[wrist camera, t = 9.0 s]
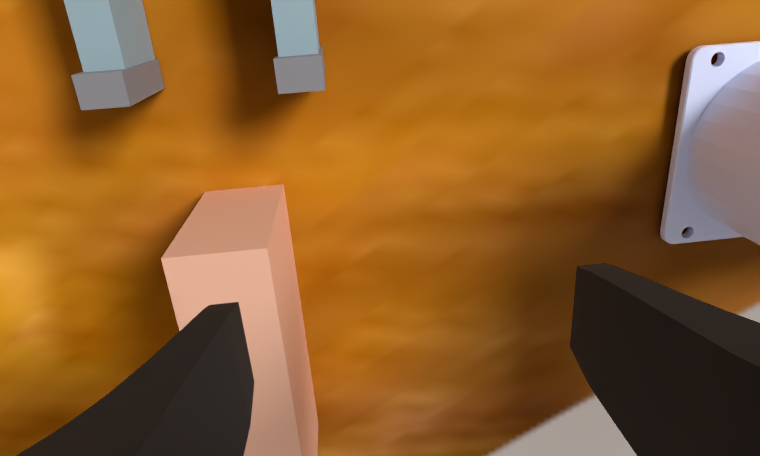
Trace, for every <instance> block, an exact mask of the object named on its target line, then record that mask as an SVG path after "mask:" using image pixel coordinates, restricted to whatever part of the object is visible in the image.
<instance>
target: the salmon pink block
mask: <svg viewBox="0 0 760 456" xmlns="http://www.w3.org/2000/svg"><path fill="white" fill-rule="evenodd" d="M161 261H162V265H163V269H164V273H165V277H166V280H167V284H168V288H169V292H170V296H171V300H172V304H173V308H174V312H175V316H176V320H177V324H178V327H179V331H181V330H182V329H183V328H184V327H185V326H186V325H187V324H188V323H189V322H190V321H191V320H192V319H193V318H194V317H196V316H197V315H198V314H199V313H200V312H201V311H202V310H203V309H204V308H206V307H207V306H208V305H213V304H223V303H232V302H239V307H240V312H241V317H242V322H243V327H244V332H245V337H246V342H247V347H248V352H249V357H250V362H251V367H252V372H253V377H254V393H253V404H252V414H251V424H250V429H249V434H248V438H247V443H246V447H245V452H244V456H317V454H318V418H317V411H316V404H315V397H314V390H313V383H312V376H311V370H310V363H309V356H308V349H307V342H306V335H305V328H304V322H303V315H302V308H301V301H300V294H299V287H298V281H297V274H296V267H295V260H294V253H293V246H292V239H291V233H290V226H289V219H288V212H287V205H286V198H285V191H284V185H272V186H261V187H251V188H240V189H229V190H218V191H207V192H205V193H204V194H203V196H202V197H201V199H200V200H199V202H198V203H197V205H196V206H195V208H194V209H193V211H192V212H191V214H190V215H189V217H188V218H187V220H186V221H185V223H184V224H183V226H182V227H181V229H180V230H179V232H178V234H177V235H176V237H175V238H174V240H173V241H172V243H171V244H170V246H169V247H168V249H167V250H166V252H165V253H164V255H163V256H162V258H161Z"/></svg>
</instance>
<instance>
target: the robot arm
mask: <svg viewBox="0 0 760 456" xmlns="http://www.w3.org/2000/svg"><path fill="white" fill-rule="evenodd" d="M715 53H717V56H718V58H717V61H716V62H715V63H714V64H713V65H712V64H711V59H712V56H713V55H714V54H715ZM687 227H688V229H687V231H686V232H685V233H684V234H682V231H683V230H684V229H685V228H687ZM660 236H661V238H662V239H663V240H664V241H666V242H668V243H669V244H680V243H689V242H699V241H709V240H718V239H728V238H738V237H745V238H747V239H749V240H751V241H753V242H754V243H756V244H758V245H760V41H752V42H740V43H728V44H715V45H703V46H698V47H696V48H694V49H693V50H691V52H690V53H689V54H688V56H687V59H686V64H685V71H684V78H683V84H682V91H681V97H680V104H679V111H678V117H677V124H676V130H675V137H674V143H673V150H672V157H671V163H670V170H669V176H668V183H667V189H666V196H665V203H664V209H663V216H662V222H661V229H660ZM570 347H571V349H572V351H573V353H574V355H575V357H576V359H577V362H578V364H579V366H580V368H581V370H582V372H583V374H584V376H585V378H586V380H587V382H588V383H589V385H590V387H591V388H592V390H593V392H594V393H595V395H596V396H597V398H598V399H599V401H600V402H601V403H602V405H603V406H604V408H605V409H606V411H607V412H608V414H609V415H610V417H611V418H612V420H613V421H614V423H615V424H616V426H617V427H618V428H619V430H620V431H621V433H622V434H623V436H624V437H625V439H626V440H627V441H628V443H629V444H630V446H631V447H632V449H633V450H634V452H635V453H636V454H637V456H760V323H758V322H756V321H753V320H750V319H747V318H745V317H742V316H739V315H736V314H734V313H731V312H728V311H725V310H723V309H720V308H717V307H715V306H712V305H710V304H707V303H705V302H702V301H700V300H697V299H695V298H692V297H690V296H687V295H685V294H682V293H680V292H678V291H675V290H673V289H670V288H668V287H666V286H663V285H661V284H658V283H656V282H654V281H651V280H649V279H646V278H644V277H642V276H639V275H637V274H634V273H632V272H629V271H626V270H624V269H621V268H618V267H615V266H612V265H609V264H605V263H604V264H595V265H585V266H577V274H576V285H575V296H574V308H573V319H572V331H571V342H570ZM253 393H254V377H253V372H252V367H251V362H250V357H249V352H248V347H247V342H246V337H245V332H244V327H243V322H242V317H241V312H240V307H239V302H232V303H223V304H213V305H208V306H207V307H206V308H204V309H203V310H202V311H201V312H200V313H199V314H198V315H197V316H196V317H194V318H193V319H192V320H191V321H190V322H189V323H188V324H187V325H186V326H185V327H184V328H183V329H182V330H181V331H180V332H179V333H178V334H177V335H175V336H174V337H173V338H172V339H171V340H170V341H169V342H168V343H167V344H166V345H165V346H164V347H162V348H161V349H160V350H159V351H158V352H157V353H156V354H155V355H154V356H153V357H152V358H150V359H149V360H148V361H147V362H146V363H145V364H143V365H142V366H141V367H140V368H139V369H137V370H136V371H135V372H134V373H133V374H131V375H130V376H129V377H128V378H127V379H126V380H124V381H123V382H122V383H121V384H120V385H118V386H117V387H116V388H115V389H114V390H112V391H111V392H110V393H109V394H107V395H106V396H105V397H103V398H102V399H101V400H99V401H98V402H97V403H95V404H94V405H93V406H91V407H90V408H89V409H87V410H86V411H84V412H83V413H82V414H80V415H79V416H77V417H76V418H74V419H73V420H72V421H70V422H69V423H67V424H66V425H64V426H63V427H62V428H60V429H59V430H57V431H56V432H54V433H53V434H51V435H49V436H48V437H46V438H44V439H43V440H41V441H39V442H38V443H36V444H35V445H33V446H31V447H30V448H28V449H26V450H25V451H23V452H21V453H20V454H18V455H17V456H244V452H245V447H246V443H247V438H248V434H249V429H250V424H251V414H252V404H253Z"/></svg>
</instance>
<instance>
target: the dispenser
mask: <svg viewBox="0 0 760 456" xmlns="http://www.w3.org/2000/svg"><path fill="white" fill-rule="evenodd" d="M64 4H65V7H66V11H67V15H68V18H69V22H70V25H71V29H72V33H73V36H74V40H75V43H76V47H77V51H78V54H79V58H80V61H81V65H82V69H83V72H80V73H77V74H73V75H71V77H72V80H73V84H74V87H75V91H76V94H77V98H78V101H79V105H80V108H81V110H93V109H105V108H117V107H130V106H132V105H134V104H136V103H138V102H140V101H142V100H144V99H145V98H147V97H149V96H151V95H153V94H155V93H157V92H159V91H161V90H163V89H165V88H164V83H163V79H162V74H161V69H160V65H159V60H158V59H155V56H154V51H153V47H152V42H151V38H150V34H149V29H148V25H147V20H146V16H145V11H144V7H143V2H142V0H64ZM271 6H272V13H273V21H274V28H275V35H276V43H277V50H278V55H277V56H276V57H275V58H274V59H273V61H274V68H275V75H276V82H277V90H278V94H286V93H298V92H311V91H323V90H325V78H326V75H325V65H324V56H323V46H320V45H319V35H318V26H317V17H316V7H315V0H271Z"/></svg>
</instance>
